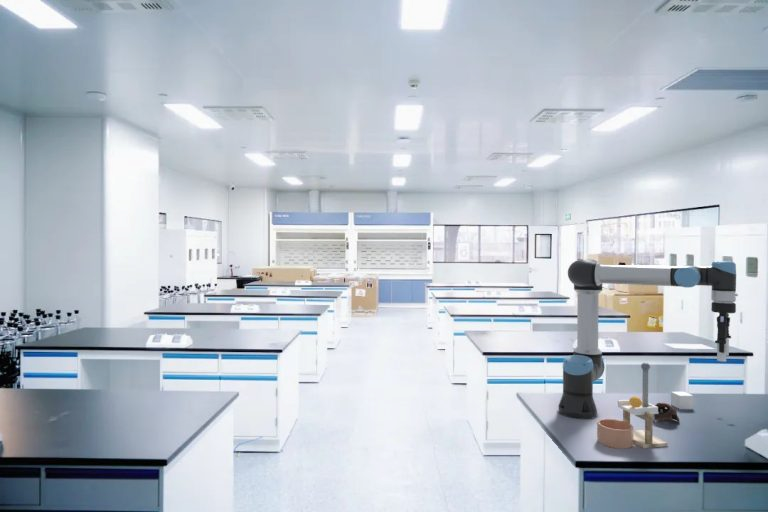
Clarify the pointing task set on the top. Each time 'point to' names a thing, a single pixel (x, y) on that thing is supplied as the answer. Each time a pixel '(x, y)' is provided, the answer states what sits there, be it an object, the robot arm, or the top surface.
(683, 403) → the white cube
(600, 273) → the robot arm
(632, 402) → the ball
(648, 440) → the lever stand
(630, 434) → the terracotta round bowl
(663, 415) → the dark brown skull
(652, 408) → the lever
